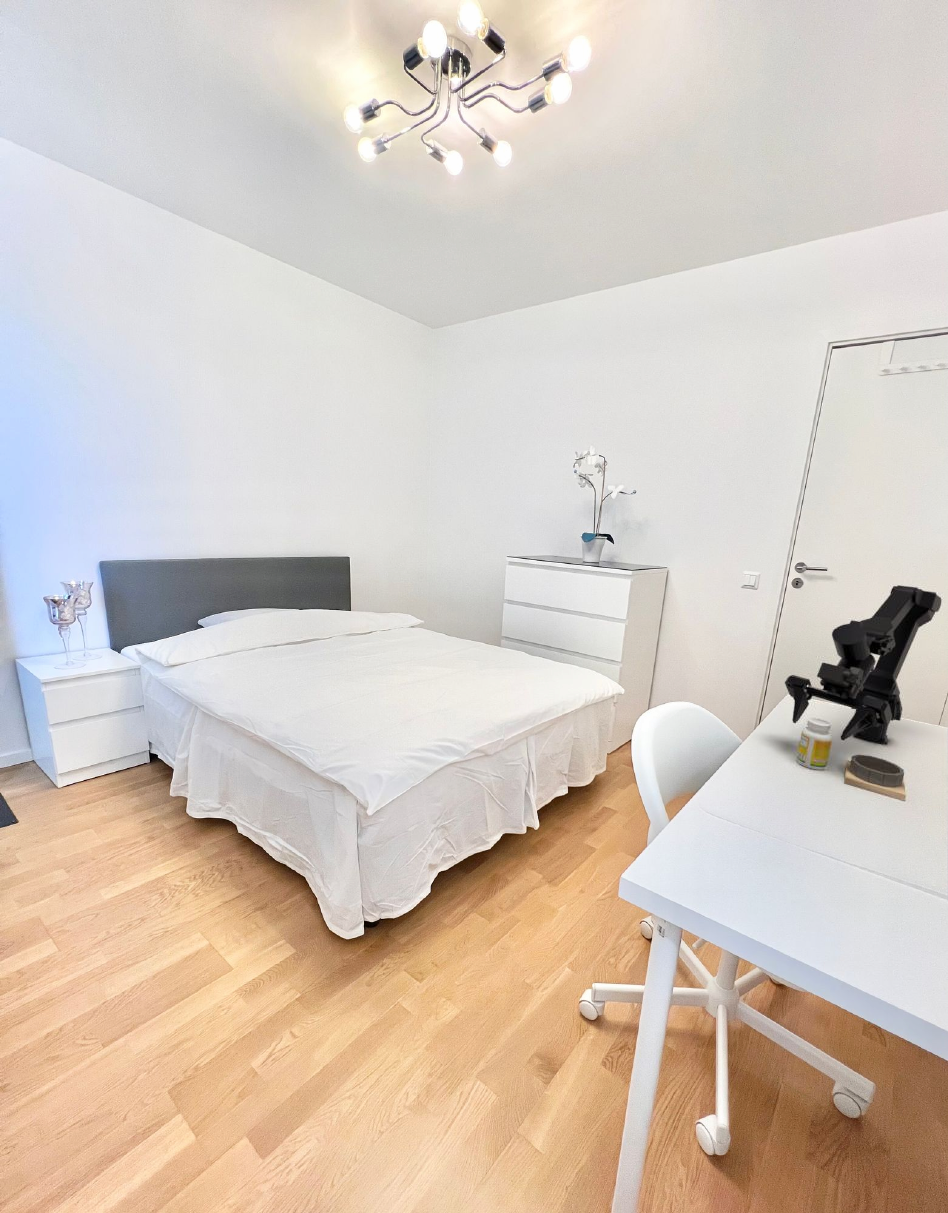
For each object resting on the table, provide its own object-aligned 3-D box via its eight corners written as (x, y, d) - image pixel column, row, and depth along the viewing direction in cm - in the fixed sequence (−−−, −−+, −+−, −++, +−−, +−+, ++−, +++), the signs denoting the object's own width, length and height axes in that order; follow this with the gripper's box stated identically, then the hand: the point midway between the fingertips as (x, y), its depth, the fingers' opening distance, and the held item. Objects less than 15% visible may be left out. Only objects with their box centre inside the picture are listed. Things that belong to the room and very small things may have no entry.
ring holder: (846, 765, 108) (849, 748, 108) (901, 780, 103) (905, 763, 102) (844, 783, 100) (847, 765, 100) (904, 800, 95) (908, 782, 94)
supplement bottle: (792, 762, 108) (799, 720, 106) (801, 756, 112) (809, 714, 110) (821, 773, 104) (829, 729, 102) (830, 766, 108) (838, 723, 106)
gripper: (796, 639, 114) (761, 693, 110) (898, 662, 99) (862, 725, 95) (807, 669, 120) (774, 721, 116) (905, 695, 104) (872, 756, 100)
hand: (816, 730), depth 106 cm, fingers open, 9 cm apart
